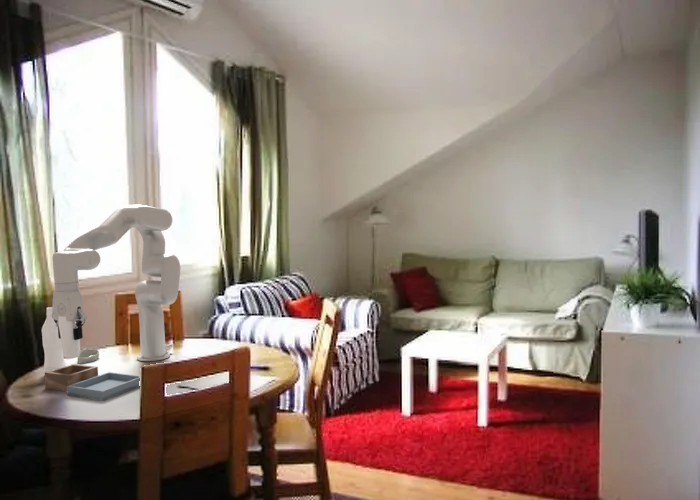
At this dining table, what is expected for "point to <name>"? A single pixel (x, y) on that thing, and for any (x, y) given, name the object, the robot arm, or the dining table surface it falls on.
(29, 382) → the dining table surface
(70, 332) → the drinking glass
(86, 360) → the wristwatch
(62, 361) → the water bottle
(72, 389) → the tray
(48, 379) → the frame
